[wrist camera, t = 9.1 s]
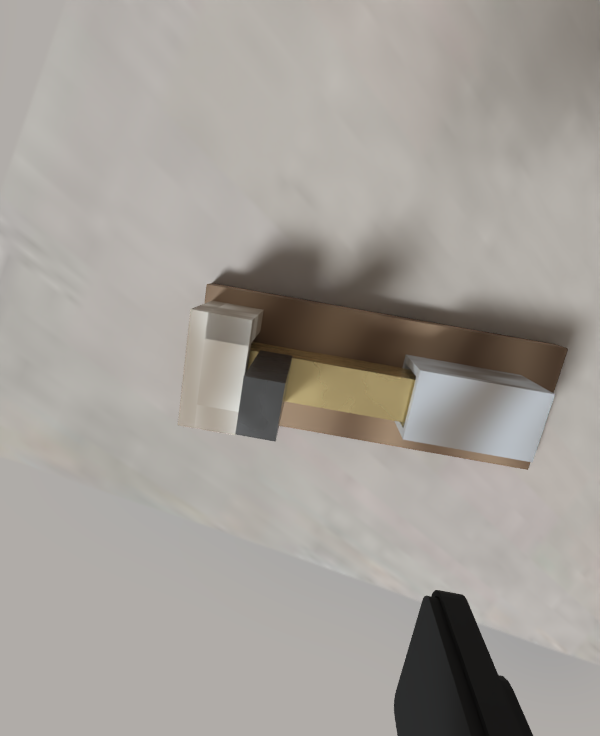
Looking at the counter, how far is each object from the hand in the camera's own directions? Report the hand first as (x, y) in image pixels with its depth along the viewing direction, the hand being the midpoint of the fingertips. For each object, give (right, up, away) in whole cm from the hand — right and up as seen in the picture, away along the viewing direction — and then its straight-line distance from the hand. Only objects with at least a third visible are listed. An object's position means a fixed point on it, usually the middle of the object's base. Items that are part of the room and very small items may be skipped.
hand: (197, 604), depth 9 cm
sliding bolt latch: (+7, +4, +23) cm, 24 cm away
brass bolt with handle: (+5, +4, +20) cm, 21 cm away
